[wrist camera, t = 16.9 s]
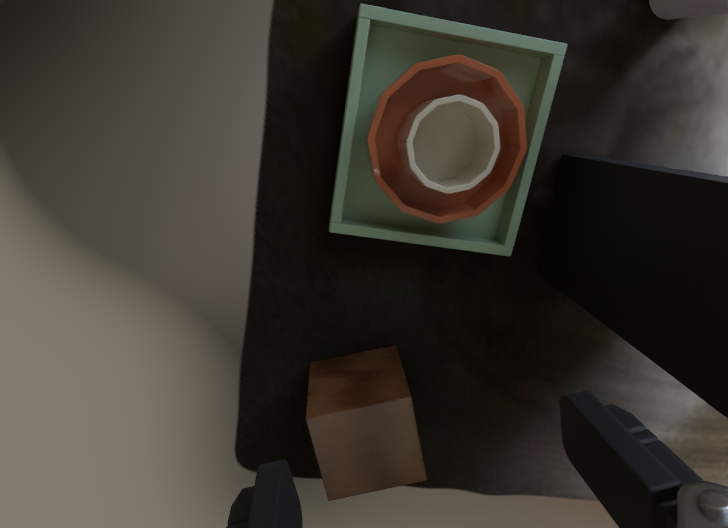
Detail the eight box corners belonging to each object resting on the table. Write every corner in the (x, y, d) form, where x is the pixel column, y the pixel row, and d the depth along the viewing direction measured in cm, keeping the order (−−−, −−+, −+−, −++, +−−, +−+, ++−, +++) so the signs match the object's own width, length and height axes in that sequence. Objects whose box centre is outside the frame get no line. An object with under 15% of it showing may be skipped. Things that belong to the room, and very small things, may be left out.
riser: (328, 433, 43) (328, 501, 36) (309, 362, 41) (305, 419, 33) (410, 416, 43) (427, 480, 36) (396, 344, 41) (411, 396, 33)
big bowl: (379, 223, 36) (384, 235, 33) (352, 79, 33) (355, 75, 29) (512, 196, 36) (531, 204, 33) (500, 49, 33) (519, 41, 29)
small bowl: (404, 190, 35) (415, 200, 31) (391, 107, 33) (400, 106, 29) (482, 174, 35) (503, 182, 31) (473, 90, 33) (494, 87, 29)
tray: (498, 246, 39) (511, 256, 36) (329, 223, 37) (328, 232, 34) (549, 49, 34) (568, 43, 31) (357, 12, 32) (360, 3, 30)
